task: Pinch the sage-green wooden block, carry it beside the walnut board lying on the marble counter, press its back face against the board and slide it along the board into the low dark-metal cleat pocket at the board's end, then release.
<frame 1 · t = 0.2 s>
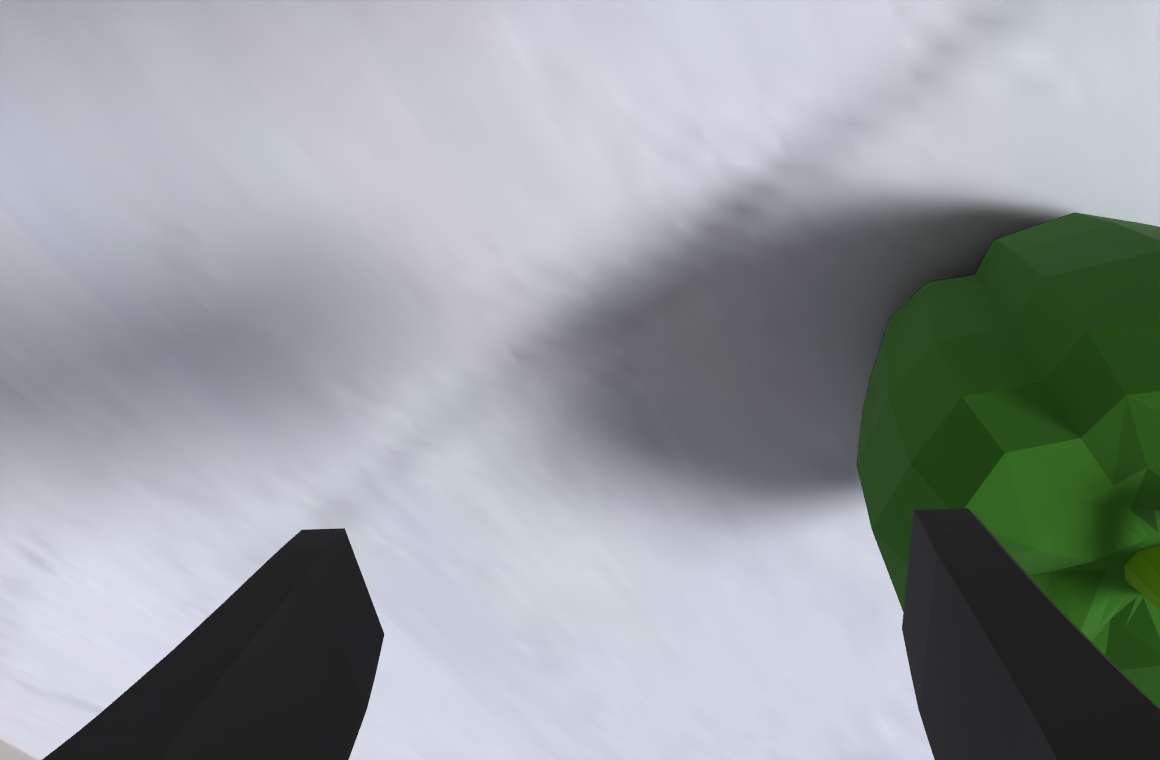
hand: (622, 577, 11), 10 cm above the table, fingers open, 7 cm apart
bell pepper: (1016, 334, 20), on the table
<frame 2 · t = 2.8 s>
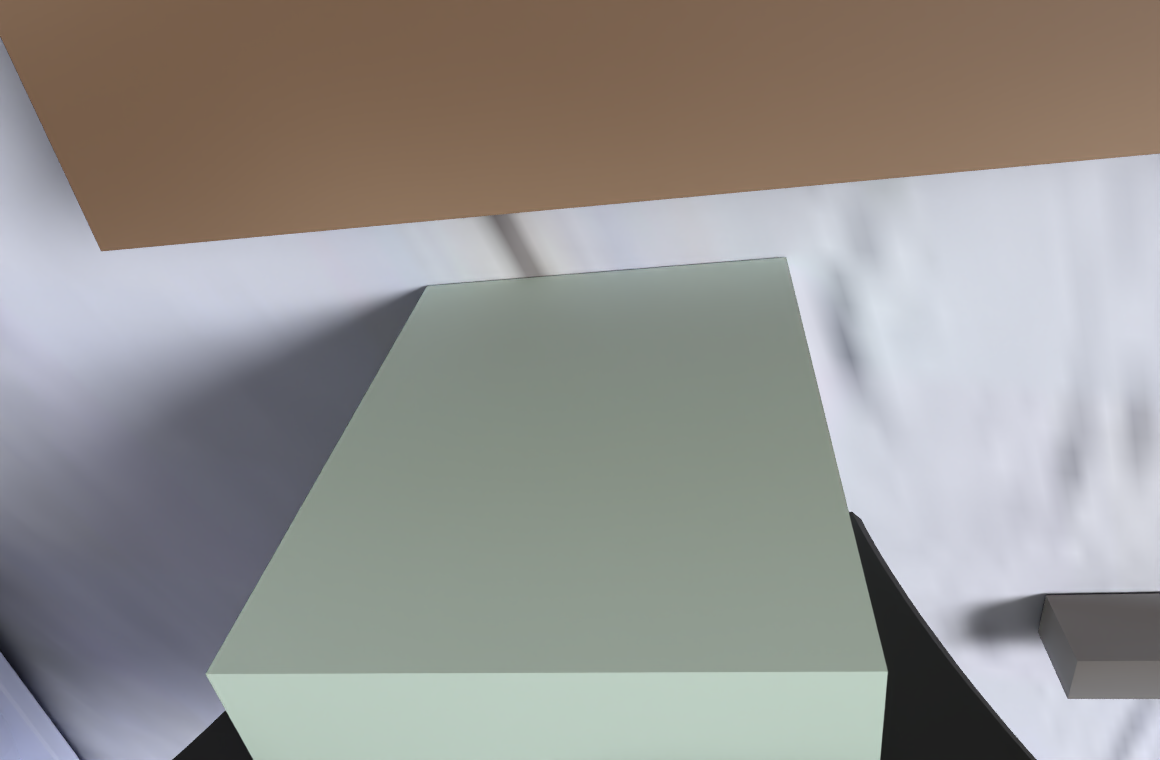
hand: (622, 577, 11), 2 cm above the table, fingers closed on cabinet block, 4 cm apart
cabinet block: (629, 489, 12), on the table, touching gripper
wall board: (1068, 5, 8), on the table
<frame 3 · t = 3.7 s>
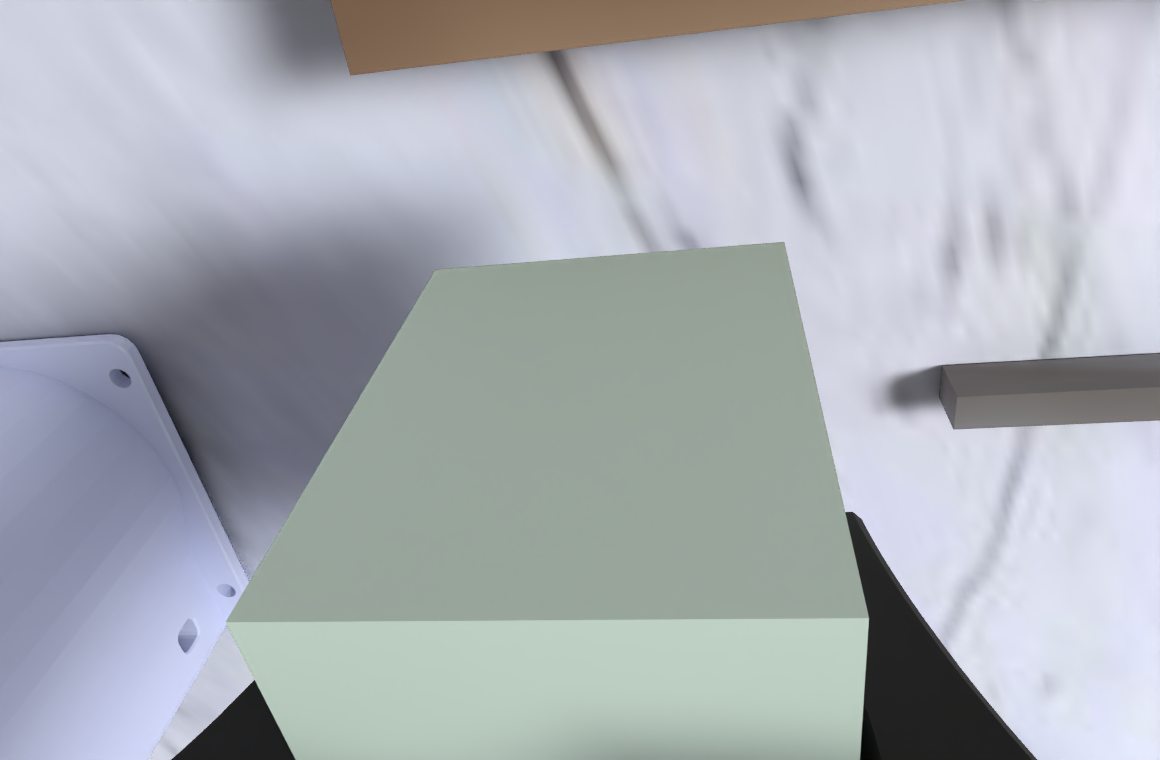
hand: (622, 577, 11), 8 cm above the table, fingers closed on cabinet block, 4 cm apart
cabinet block: (631, 471, 13), point 6 cm above the table, touching gripper
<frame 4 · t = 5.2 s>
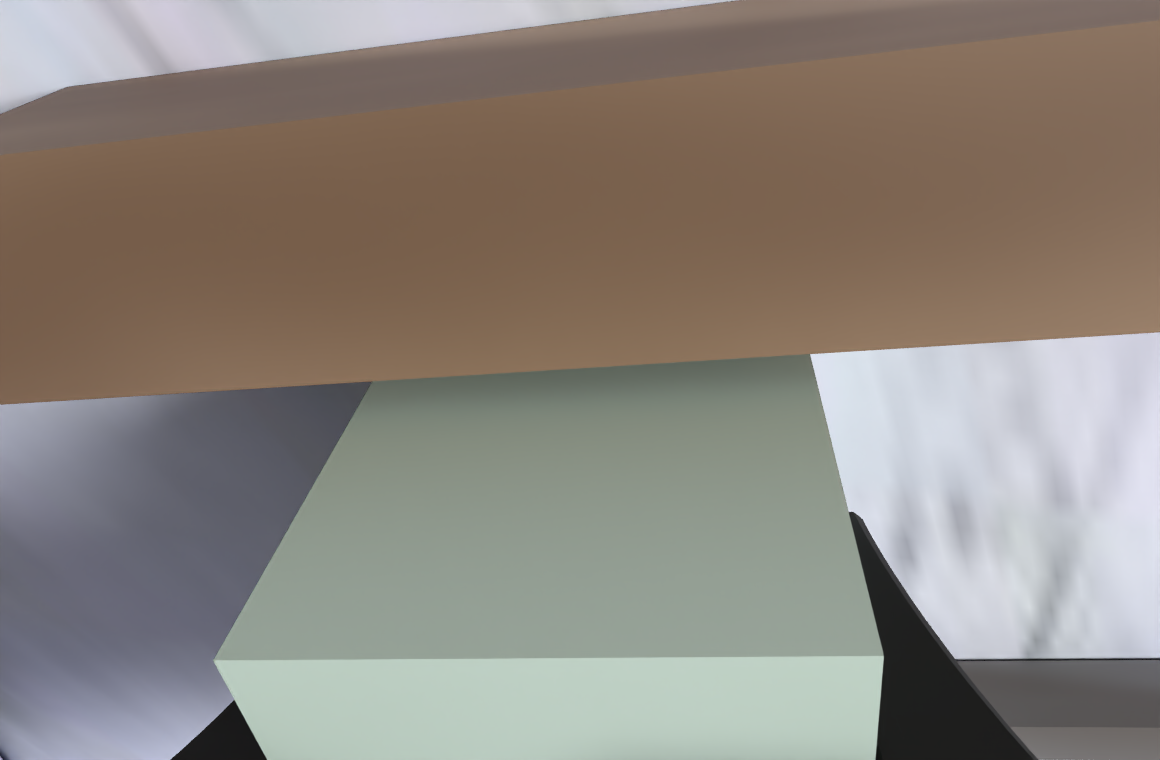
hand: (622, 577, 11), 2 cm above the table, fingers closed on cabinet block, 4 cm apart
cabinet block: (629, 484, 12), on the table, touching gripper
wall board: (851, 176, 10), on the table
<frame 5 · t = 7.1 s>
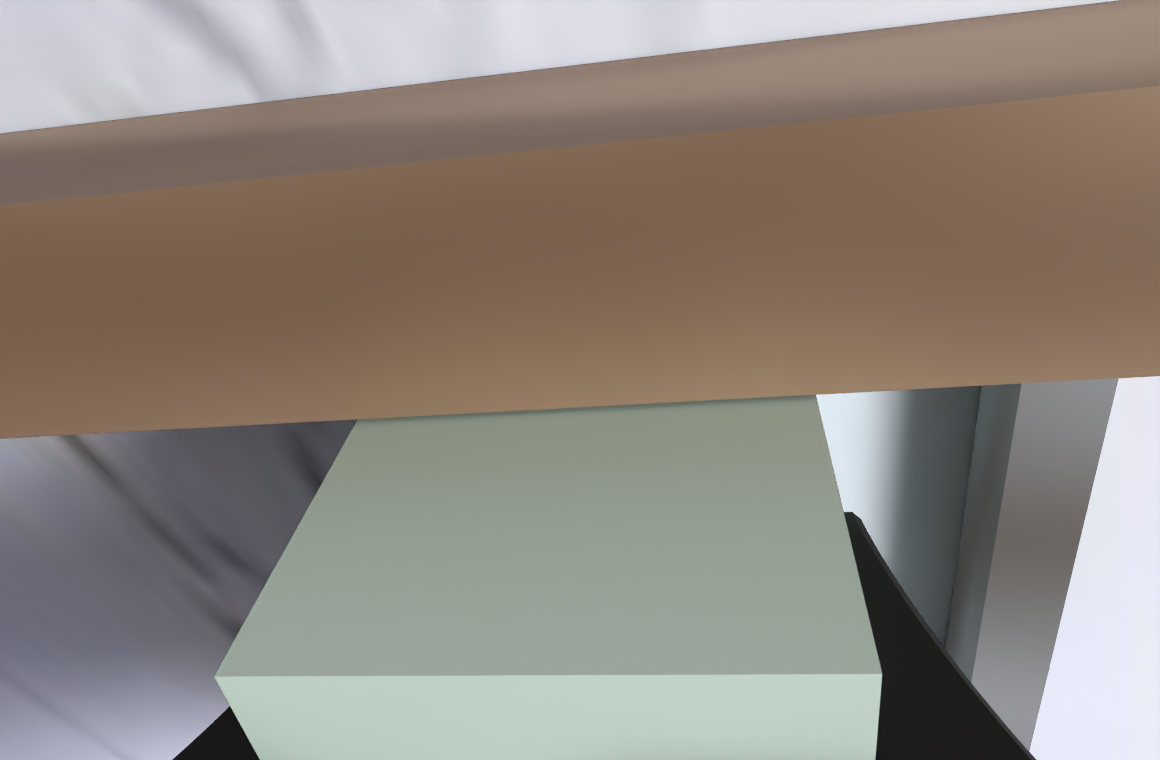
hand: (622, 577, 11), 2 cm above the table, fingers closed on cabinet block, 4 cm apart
cabinet block: (629, 492, 12), on the table, touching gripper
wall board: (380, 253, 11), on the table
when the fingers open (2 cm above the table, at t = 9.0 s): cabinet block stays where it is, on the table.
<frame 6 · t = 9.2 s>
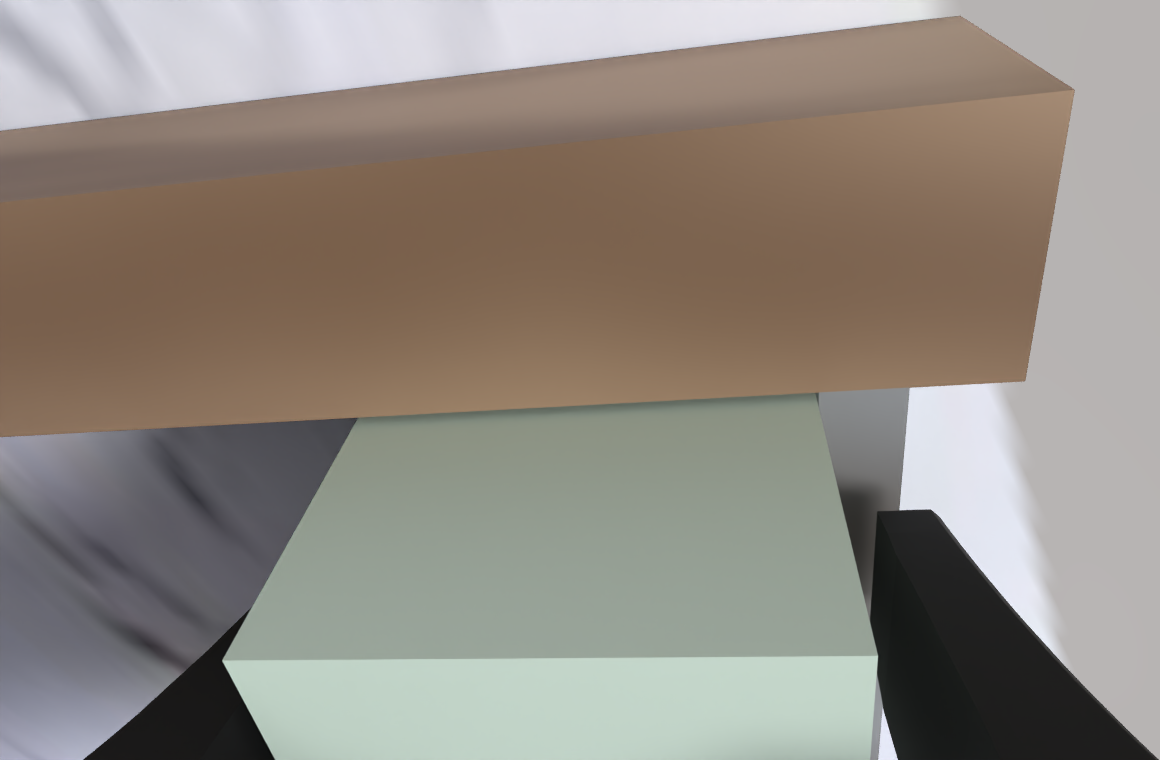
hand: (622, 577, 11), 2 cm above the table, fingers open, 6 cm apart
cabinet block: (630, 486, 13), on the table
wall board: (219, 265, 11), on the table
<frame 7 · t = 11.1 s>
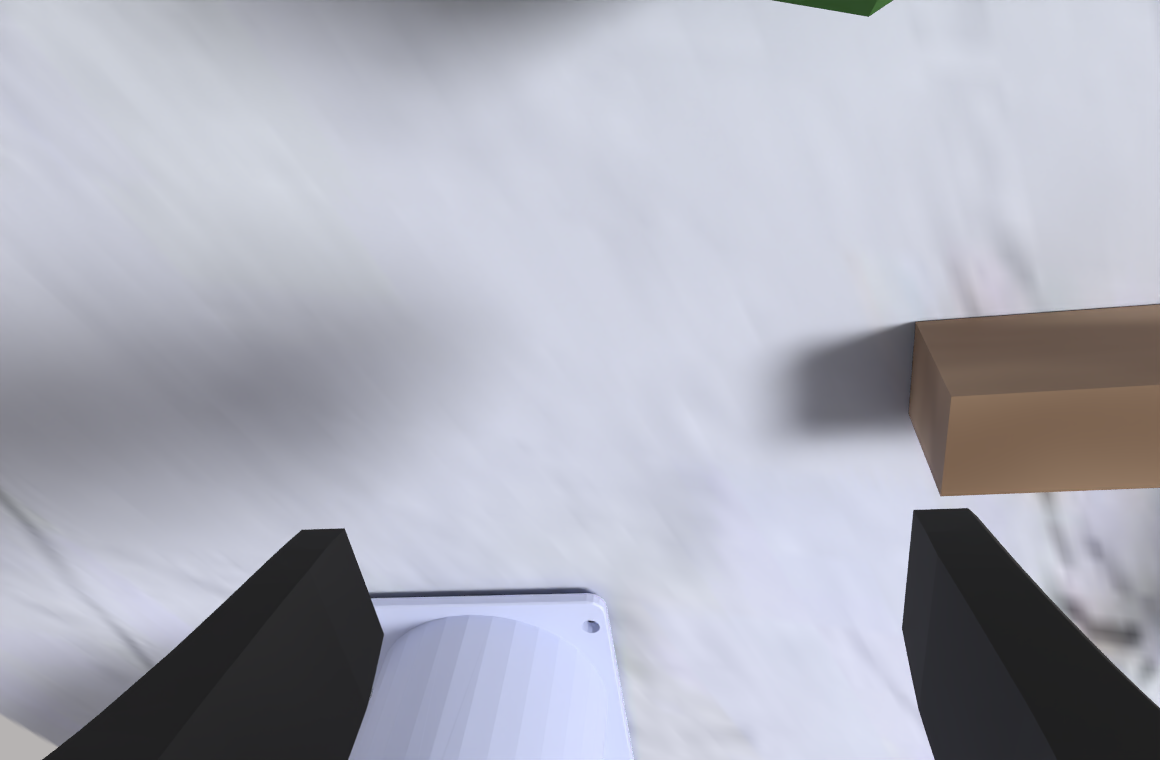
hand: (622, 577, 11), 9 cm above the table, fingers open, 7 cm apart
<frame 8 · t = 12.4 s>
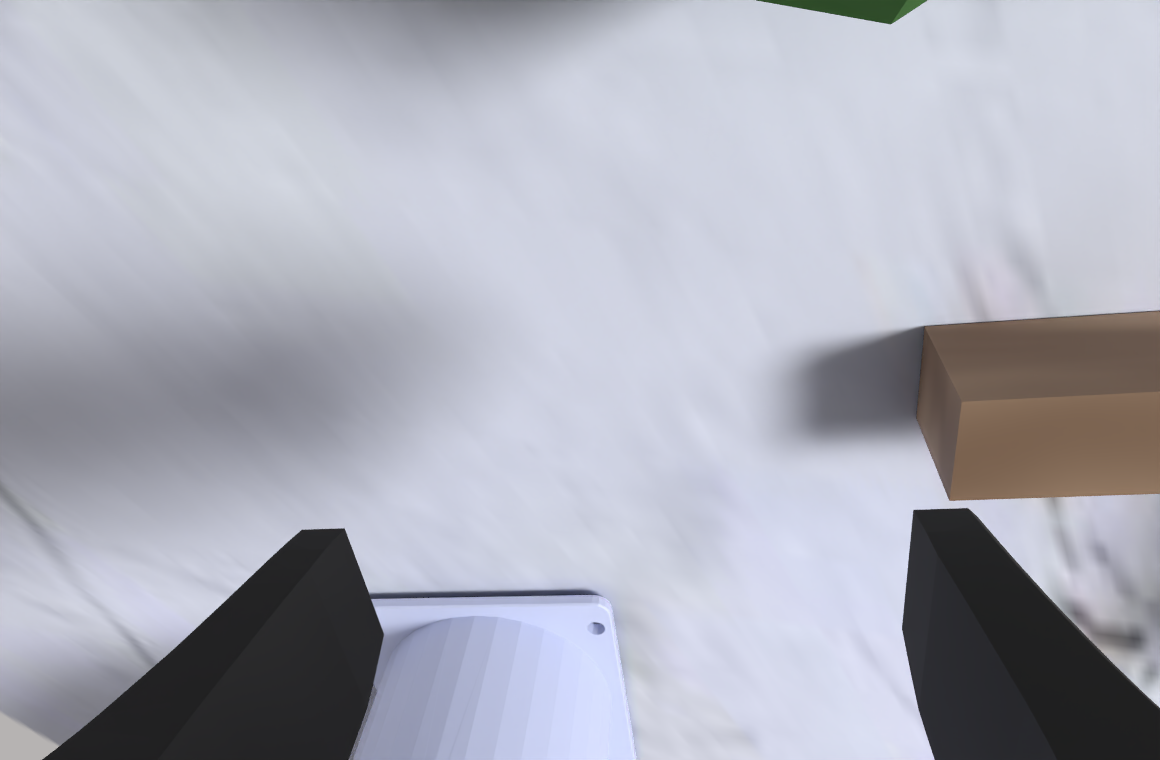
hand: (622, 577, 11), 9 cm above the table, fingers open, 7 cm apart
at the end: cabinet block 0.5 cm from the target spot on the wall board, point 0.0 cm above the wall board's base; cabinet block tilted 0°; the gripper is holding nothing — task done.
